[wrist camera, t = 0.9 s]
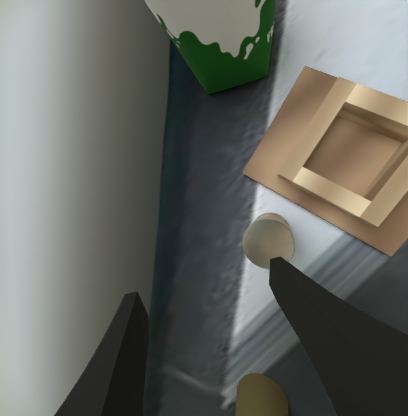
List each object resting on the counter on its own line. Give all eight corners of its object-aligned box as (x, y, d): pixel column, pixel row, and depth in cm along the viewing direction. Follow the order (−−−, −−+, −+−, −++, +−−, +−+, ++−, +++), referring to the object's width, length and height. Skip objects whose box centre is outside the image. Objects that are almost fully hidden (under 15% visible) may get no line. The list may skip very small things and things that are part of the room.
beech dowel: (297, 225, 22) (305, 237, 16) (276, 255, 23) (275, 278, 16) (264, 205, 23) (258, 209, 17) (245, 234, 24) (233, 249, 18)
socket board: (484, 139, 17) (543, 122, 13) (385, 253, 20) (411, 267, 16) (303, 71, 21) (309, 44, 17) (243, 173, 24) (237, 169, 20)
